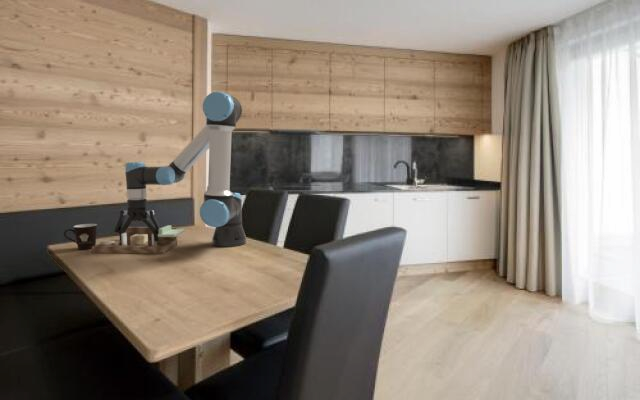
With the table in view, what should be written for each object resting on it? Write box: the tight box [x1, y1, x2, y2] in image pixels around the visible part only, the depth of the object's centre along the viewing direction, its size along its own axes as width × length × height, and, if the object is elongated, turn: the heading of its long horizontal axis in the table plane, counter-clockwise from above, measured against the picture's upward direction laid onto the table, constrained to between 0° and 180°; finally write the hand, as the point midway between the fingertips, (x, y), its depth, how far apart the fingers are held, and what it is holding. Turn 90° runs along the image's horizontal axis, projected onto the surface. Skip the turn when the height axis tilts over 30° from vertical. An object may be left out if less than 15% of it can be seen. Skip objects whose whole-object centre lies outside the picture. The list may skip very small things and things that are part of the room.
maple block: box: [130, 234, 148, 245], centre depth 166 cm, size 5×5×6 cm
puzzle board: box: [91, 226, 178, 254], centre depth 166 cm, size 30×14×8 cm, turn 88°
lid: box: [158, 224, 186, 237], centre depth 165 cm, size 7×11×3 cm, turn 178°
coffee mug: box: [63, 223, 98, 251], centre depth 167 cm, size 12×9×10 cm
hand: (139, 248), depth 166 cm, fingers open, 12 cm apart
